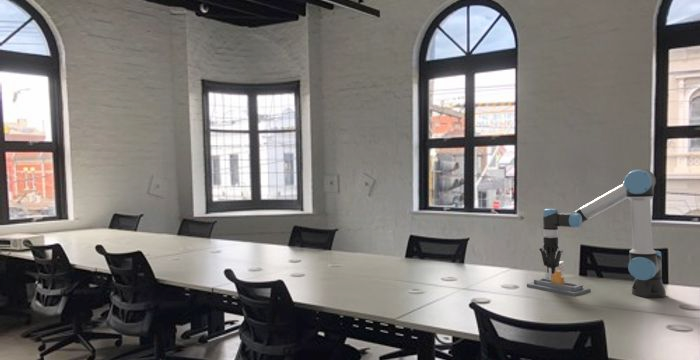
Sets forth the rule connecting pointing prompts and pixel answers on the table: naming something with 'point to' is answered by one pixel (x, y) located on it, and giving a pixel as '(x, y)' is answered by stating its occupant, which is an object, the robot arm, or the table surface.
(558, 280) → the toggle
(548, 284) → the panel
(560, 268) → the ink box
